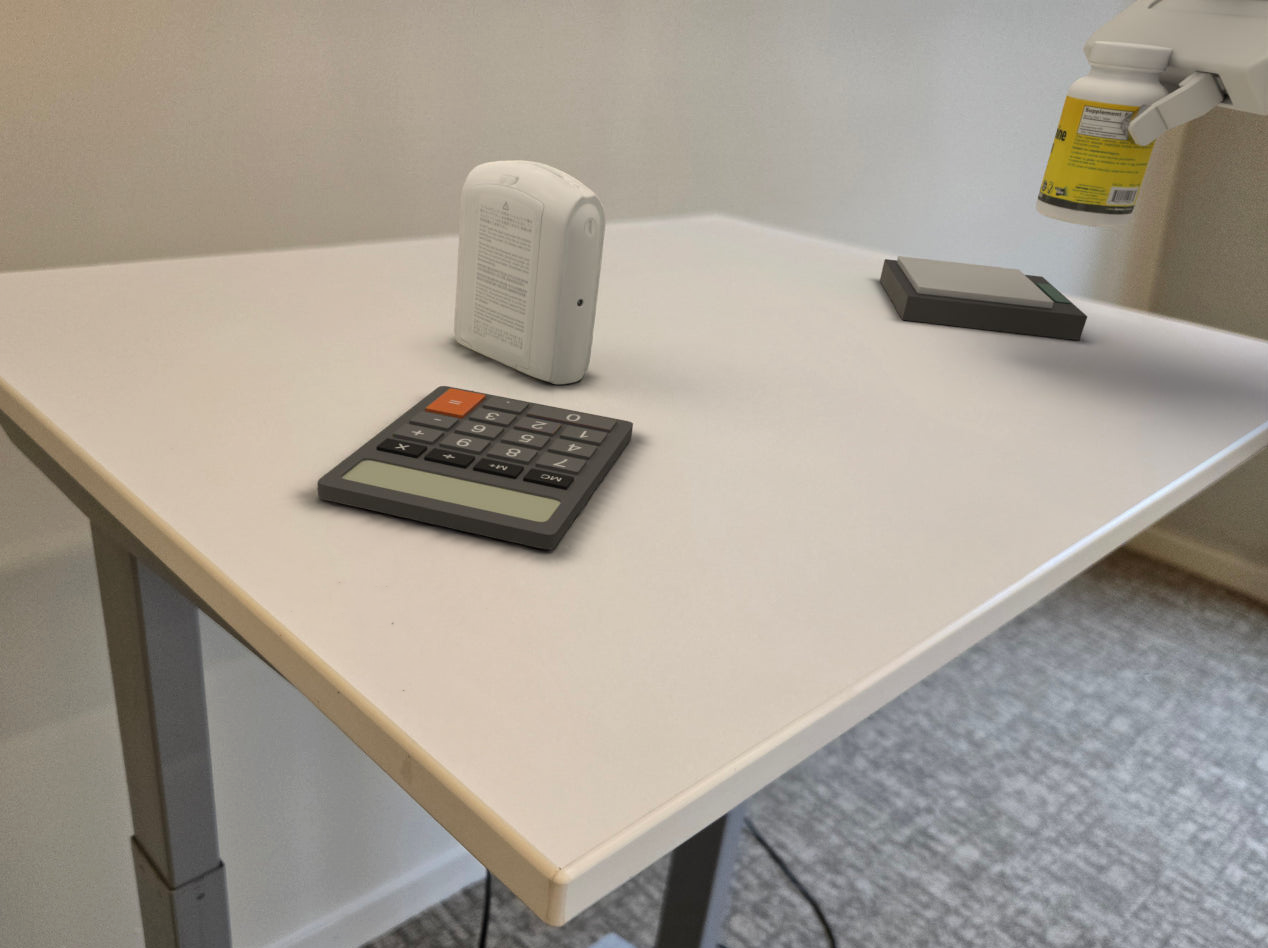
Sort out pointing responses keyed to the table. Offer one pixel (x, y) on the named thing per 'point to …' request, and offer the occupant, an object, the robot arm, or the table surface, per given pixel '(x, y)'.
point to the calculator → (482, 466)
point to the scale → (979, 298)
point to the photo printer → (529, 268)
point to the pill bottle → (1102, 137)
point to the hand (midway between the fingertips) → (1099, 128)
